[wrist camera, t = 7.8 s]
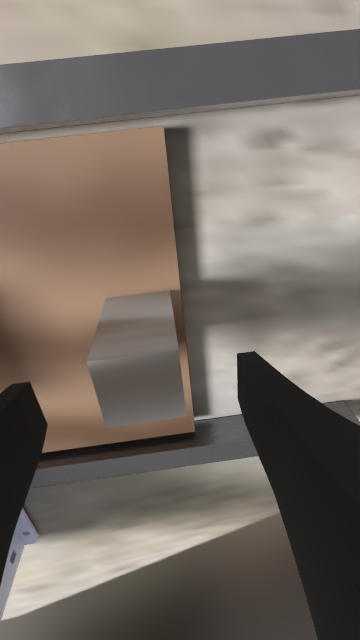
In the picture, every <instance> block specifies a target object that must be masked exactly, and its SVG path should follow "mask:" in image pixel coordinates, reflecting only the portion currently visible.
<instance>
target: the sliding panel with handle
mask: <svg viewBox="0 0 360 640" xmlns="http://www.w3.org/2000/svg"><path fill="white" fill-rule="evenodd" d="M23 382H30V383H31V385H32V388H33V390H34V393H35V395H36V397H37V400H38V402H39V405H40V407H41V409H42V412H43V414H44V417H45V419H46V421H47V424H48V426H47V431H46V436H45V441H44V446H43V450H42V453H45V452H52V451H59V450H66V449H74V448H81V447H88V446H95V445H102V444H110V443H117V442H124V441H131V440H138V439H146V438H153V437H160V436H167V435H174V434H182V433H189V432H195V425H194V415H193V405H192V396H191V386H190V376H189V367H188V357H187V348H186V338H185V328H184V319H183V309H182V299H181V290H180V280H179V270H178V261H177V251H176V241H175V232H174V222H173V212H172V203H171V193H170V183H169V174H168V164H167V154H166V145H165V135H164V126H157V127H148V128H139V129H129V130H120V131H111V132H102V133H92V134H83V135H74V136H64V137H55V138H46V139H37V140H27V141H18V142H9V143H0V393H1V392H2V391H3V390H5V389H6V388H7V387H9V386H10V385H11V384H15V383H23Z"/></svg>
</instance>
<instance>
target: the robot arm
mask: <svg viewBox="0 0 360 640" xmlns="http://www.w3.org/2000/svg"><path fill="white" fill-rule="evenodd" d="M237 378H238V401H239V404H240V408H241V412H242V415H243V418H244V422H245V425H246V427H247V430H248V432H249V434H250V437H251V439H252V441H253V444H254V446H255V449H256V451H257V453H258V456H259V458H260V460H261V463H262V465H263V467H264V470H265V472H266V474H267V477H268V479H269V481H270V484H271V486H272V489H273V492H274V494H275V497H276V500H277V503H278V506H279V509H280V513H281V516H282V518H283V522H284V525H285V528H286V531H287V534H288V538H289V541H290V544H291V548H292V551H293V554H294V557H295V561H296V564H297V567H298V571H299V574H300V578H301V581H302V584H303V588H304V592H305V595H306V598H307V602H308V605H309V609H310V612H311V616H312V620H313V623H314V627H315V631H316V634H317V637H318V640H360V426H359V425H357V424H355V423H354V422H352V421H350V420H348V419H347V418H345V417H343V416H342V415H340V414H338V413H336V412H335V411H333V410H331V409H330V408H328V407H327V406H325V405H324V404H322V403H321V402H319V401H318V400H316V399H315V398H313V397H312V396H310V395H309V394H307V393H306V392H305V391H303V390H302V389H300V388H299V387H298V386H296V385H295V384H294V383H293V382H291V381H290V380H289V379H287V378H286V377H285V376H284V375H282V374H281V373H280V372H279V371H277V370H276V369H275V368H274V367H273V366H271V365H270V364H269V363H268V362H267V361H265V360H264V359H263V358H262V357H261V356H259V355H258V354H257V353H256V352H255V351H253V352H246V353H238V354H237ZM47 426H48V424H47V421H46V419H45V417H44V414H43V412H42V409H41V407H40V405H39V402H38V400H37V397H36V395H35V393H34V390H33V388H32V385H31V383H30V382H23V383H15V384H11V385H10V386H9V387H7V388H6V389H5V390H3V391H2V392H1V393H0V621H1V618H2V615H3V612H4V609H5V606H6V602H7V599H8V596H9V593H10V590H11V587H12V583H13V580H14V577H15V574H16V571H17V568H18V564H19V561H20V558H21V555H22V552H23V549H24V545H27V544H33V543H35V542H37V540H38V533H37V532H36V530H35V528H34V526H33V525H32V523H31V521H30V519H29V518H28V516H27V514H26V513H25V511H24V509H23V505H24V502H25V499H26V497H27V494H28V491H29V488H30V485H31V483H32V480H33V477H34V474H35V471H36V469H37V466H38V463H39V460H40V457H41V454H42V450H43V446H44V441H45V436H46V431H47Z"/></svg>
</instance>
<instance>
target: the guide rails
mask: <svg viewBox="0 0 360 640" xmlns="http://www.w3.org/2000/svg"><path fill="white" fill-rule="evenodd" d="M355 95H360V29H355V30H345V31H335V32H325V33H315V34H305V35H295V36H285V37H275V38H265V39H255V40H245V41H235V42H225V43H215V44H205V45H195V46H185V47H175V48H165V49H155V50H145V51H135V52H125V53H115V54H105V55H95V56H85V57H75V58H65V59H55V60H44V61H34V62H24V63H14V64H4V65H0V133H8V132H17V131H27V130H36V129H46V128H55V127H64V126H74V125H83V124H92V123H102V122H111V121H121V120H130V119H139V118H149V117H158V116H167V115H177V114H186V113H196V112H205V111H214V110H224V109H233V108H243V107H252V106H261V105H271V104H280V103H289V102H299V101H308V100H318V99H327V98H336V97H346V96H355ZM324 405H325V406H327V407H328V408H330V409H331V410H333V411H335V412H336V413H338V414H340V415H342V416H343V417H345V418H347V419H348V420H350V421H352V422H354V423H355V424H357V425H359V426H360V422H359V420H358V419H357V418H356V417H355V415H354V414H353V413H352V411H351V410H350V409H349V408H348V406H347V405H346V404H345V402H344V401H338V402H331V403H324ZM194 425H195V432H189V433H182V434H174V435H167V436H160V437H153V438H146V439H138V440H131V441H124V442H117V443H110V444H102V445H95V446H88V447H81V448H74V449H66V450H59V451H52V452H45V453H42V454H41V457H40V460H39V463H38V466H37V469H36V471H35V474H34V477H33V480H32V483H31V485H30V488H36V487H43V486H50V485H57V484H64V483H71V482H78V481H85V480H92V479H99V478H107V477H114V476H121V475H128V474H135V473H142V472H149V471H156V470H163V469H170V468H177V467H184V466H191V465H198V464H205V463H212V462H219V461H226V460H233V459H240V458H247V457H254V456H258V453H257V451H256V449H255V446H254V444H253V441H252V439H251V437H250V434H249V432H248V430H247V427H246V425H245V422H244V418H243V415H237V416H229V417H222V418H215V419H208V420H200V421H194Z"/></svg>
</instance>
